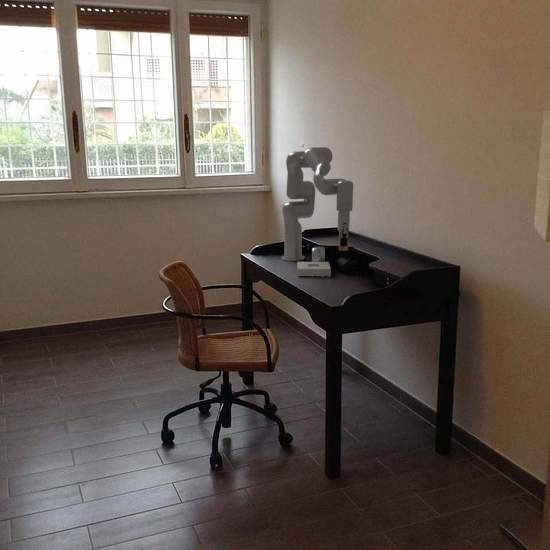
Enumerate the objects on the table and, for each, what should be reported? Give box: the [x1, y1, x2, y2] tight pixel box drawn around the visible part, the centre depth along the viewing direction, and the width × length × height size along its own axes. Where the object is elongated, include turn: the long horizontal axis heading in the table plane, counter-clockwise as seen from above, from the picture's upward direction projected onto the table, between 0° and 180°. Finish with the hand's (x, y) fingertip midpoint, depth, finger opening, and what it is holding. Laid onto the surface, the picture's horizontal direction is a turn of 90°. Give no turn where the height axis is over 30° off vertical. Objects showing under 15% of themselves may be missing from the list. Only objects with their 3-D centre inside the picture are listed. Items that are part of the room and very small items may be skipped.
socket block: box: [296, 261, 332, 278], centre depth 315 cm, size 16×16×4 cm
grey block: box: [311, 246, 326, 262], centre depth 328 cm, size 7×7×10 cm
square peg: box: [338, 229, 349, 252], centre depth 302 cm, size 4×4×10 cm
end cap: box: [336, 256, 358, 275], centre depth 317 cm, size 10×7×7 cm
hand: (343, 244), depth 302 cm, fingers closed on square peg, 4 cm apart
